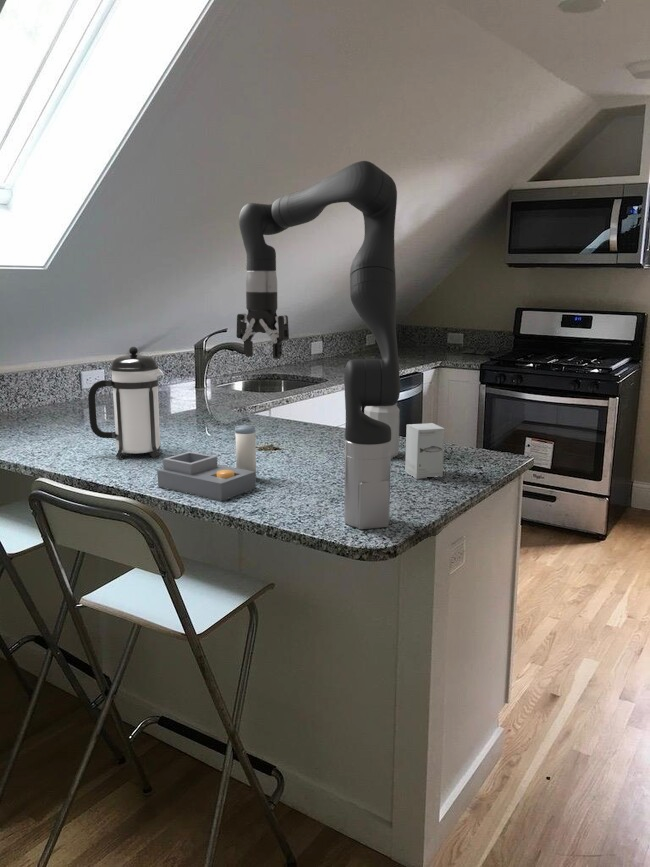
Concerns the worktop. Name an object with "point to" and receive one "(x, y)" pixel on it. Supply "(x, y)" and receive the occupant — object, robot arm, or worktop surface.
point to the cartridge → (245, 447)
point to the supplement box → (424, 450)
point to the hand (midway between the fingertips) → (262, 357)
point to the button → (225, 474)
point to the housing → (203, 476)
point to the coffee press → (132, 404)
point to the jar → (387, 422)
